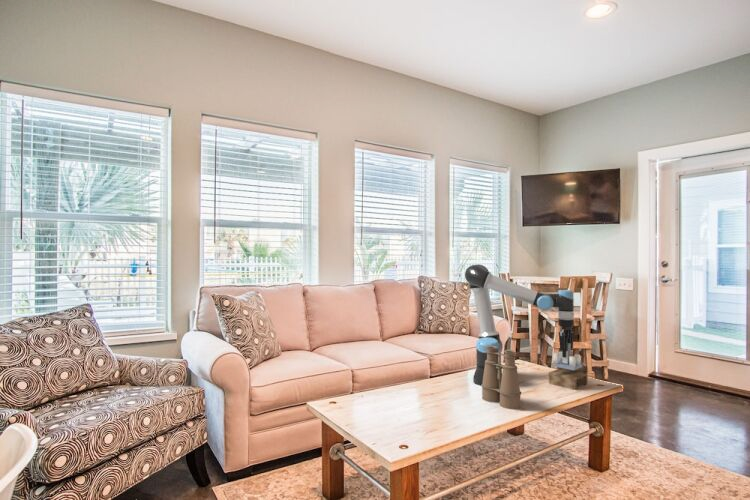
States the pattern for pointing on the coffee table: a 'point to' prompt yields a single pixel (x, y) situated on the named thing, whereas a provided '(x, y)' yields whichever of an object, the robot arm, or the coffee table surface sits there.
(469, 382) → the coffee table surface
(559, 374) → the wooden u channel
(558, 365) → the pegged blue plate
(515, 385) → the binoculars
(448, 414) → the coffee table surface
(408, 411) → the coffee table surface
